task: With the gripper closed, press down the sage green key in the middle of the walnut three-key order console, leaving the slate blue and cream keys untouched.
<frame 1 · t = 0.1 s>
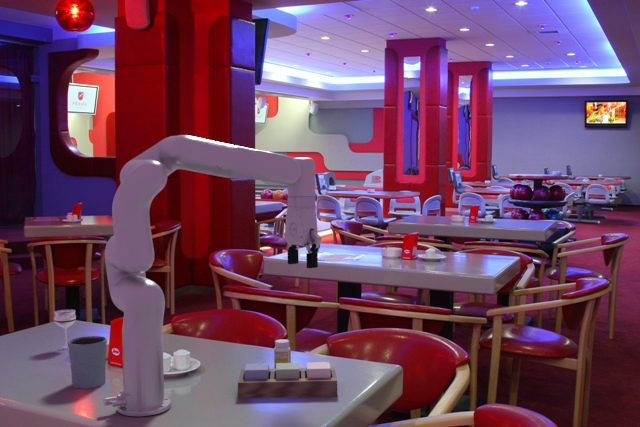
hand: (302, 265, 196), 31 cm above the table, tool pointing down, fingers open, 9 cm apart
wineglass: (66, 348, 233), on the table
sage key: (287, 372, 187), point 5 cm above the table, slide at 0.0 cm
supplement bottle: (282, 370, 206), on the table
grey blue cup: (88, 384, 194), on the table
console: (287, 389, 187), on the table
slate key: (256, 373, 187), point 5 cm above the table, slide at 0.0 cm
cream key: (318, 372, 187), point 5 cm above the table, slide at 0.0 cm
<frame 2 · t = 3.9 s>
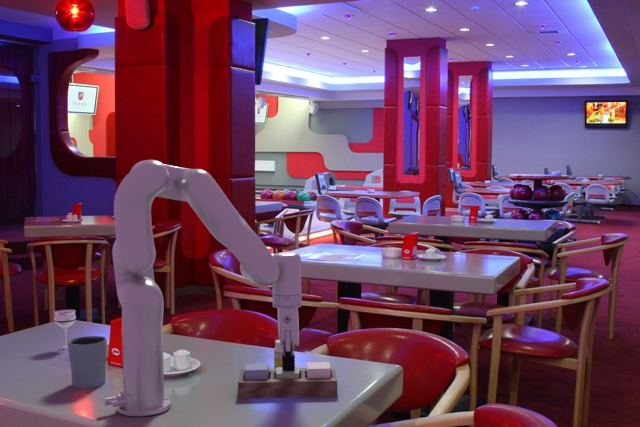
hand: (288, 369, 187), 5 cm above the table, tool pointing down, fingers closed
sage key: (287, 376, 187), point 3 cm above the table, slide at 1.1 cm, touching gripper
everything else where it was.
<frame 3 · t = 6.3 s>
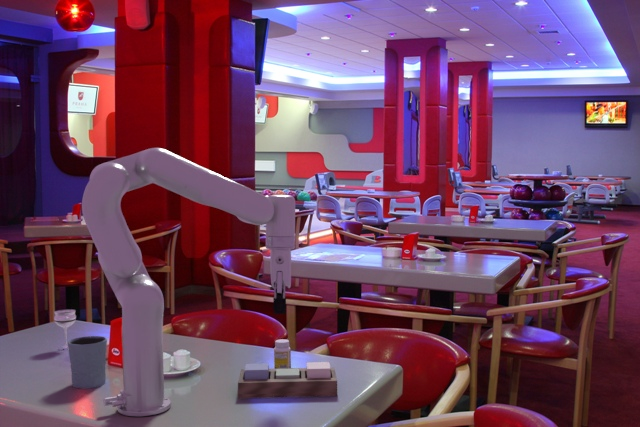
hand: (279, 313, 186), 20 cm above the table, tool pointing down, fingers closed
sage key: (287, 378, 187), point 3 cm above the table, slide at 1.6 cm
everything else where it was.
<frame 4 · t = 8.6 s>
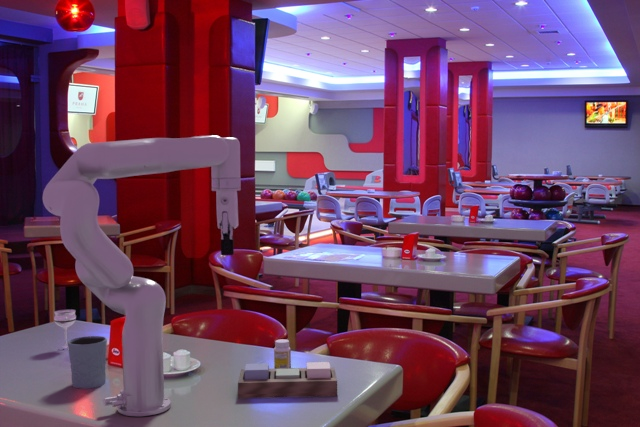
hand: (227, 254, 189), 35 cm above the table, tool pointing down, fingers closed
nothing on the table moved.
at the end: sage key slide at 1.6 cm; slate key slide at 0.0 cm; cream key slide at 0.0 cm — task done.
